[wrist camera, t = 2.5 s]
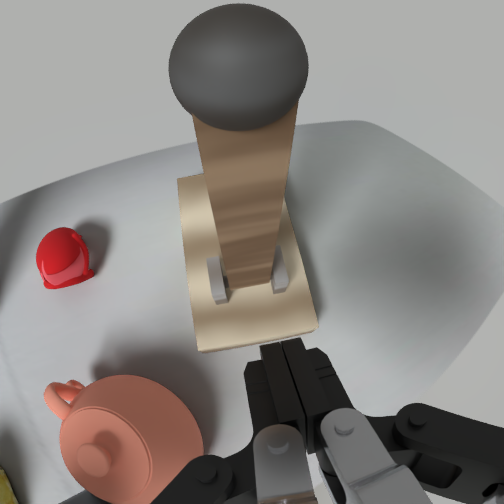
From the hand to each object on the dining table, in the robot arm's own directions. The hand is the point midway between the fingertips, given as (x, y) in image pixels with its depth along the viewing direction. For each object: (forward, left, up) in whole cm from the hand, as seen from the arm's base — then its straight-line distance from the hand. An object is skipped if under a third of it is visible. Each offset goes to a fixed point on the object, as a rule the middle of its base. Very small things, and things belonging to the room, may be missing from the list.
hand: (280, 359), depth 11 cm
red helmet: (-22, +5, -17) cm, 28 cm away
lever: (-3, +7, -11) cm, 13 cm away
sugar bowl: (-10, -9, -17) cm, 22 cm away
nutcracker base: (-5, +10, -16) cm, 20 cm away
